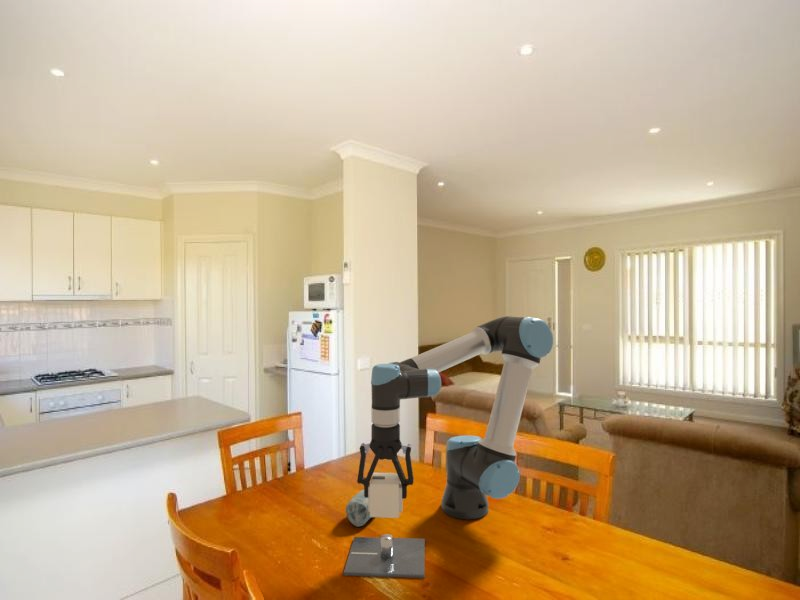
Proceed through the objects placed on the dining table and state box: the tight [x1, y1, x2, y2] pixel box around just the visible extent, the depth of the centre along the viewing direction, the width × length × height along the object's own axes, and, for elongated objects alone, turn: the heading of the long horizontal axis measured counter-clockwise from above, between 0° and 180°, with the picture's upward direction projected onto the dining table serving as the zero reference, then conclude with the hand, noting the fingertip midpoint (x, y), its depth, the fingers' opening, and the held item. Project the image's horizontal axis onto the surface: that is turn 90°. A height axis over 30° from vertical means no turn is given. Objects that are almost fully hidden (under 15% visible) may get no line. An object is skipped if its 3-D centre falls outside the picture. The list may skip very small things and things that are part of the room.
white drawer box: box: [369, 472, 401, 519], centre depth 115 cm, size 7×7×9 cm
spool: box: [345, 489, 372, 528], centre depth 136 cm, size 14×10×10 cm
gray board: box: [343, 533, 426, 579], centre depth 115 cm, size 20×16×5 cm
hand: (385, 509), depth 115 cm, fingers closed on white drawer box, 7 cm apart
